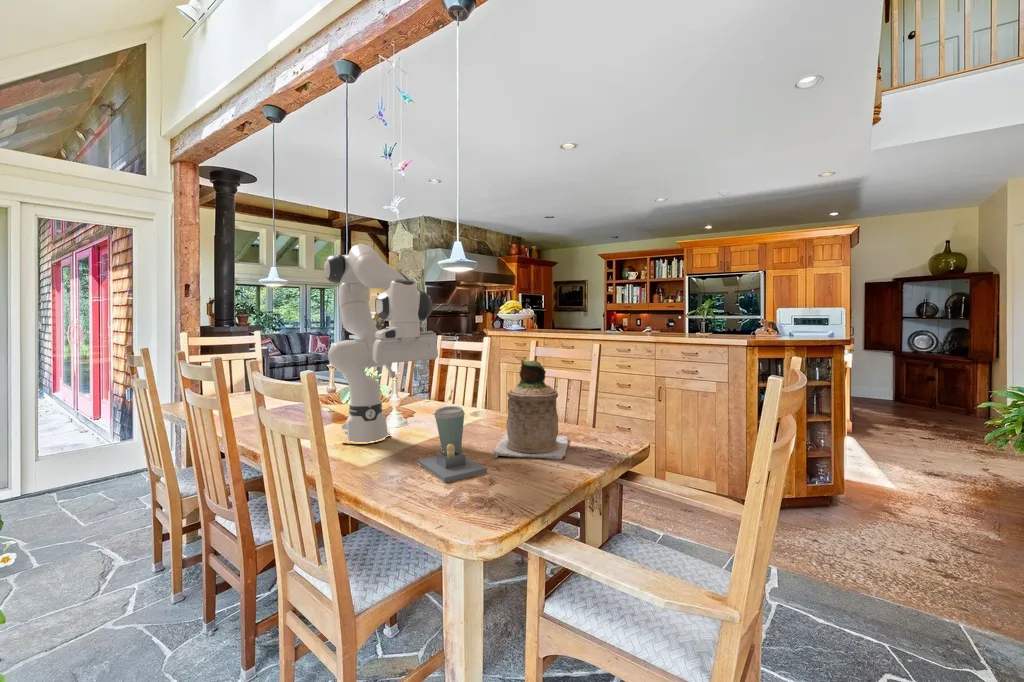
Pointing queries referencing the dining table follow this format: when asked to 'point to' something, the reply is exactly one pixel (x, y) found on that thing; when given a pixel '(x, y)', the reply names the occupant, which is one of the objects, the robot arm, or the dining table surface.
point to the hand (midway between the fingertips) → (407, 375)
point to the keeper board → (455, 472)
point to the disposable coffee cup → (450, 426)
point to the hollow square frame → (450, 459)
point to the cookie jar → (532, 418)
